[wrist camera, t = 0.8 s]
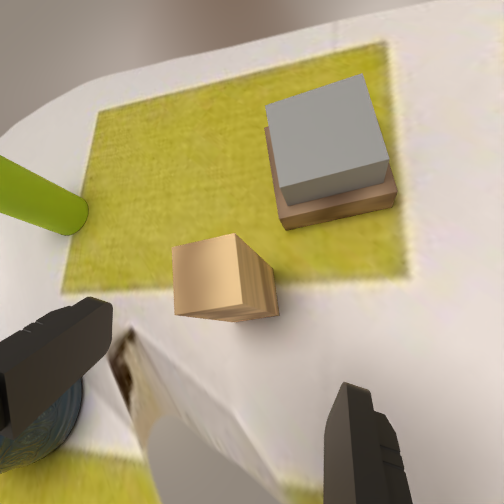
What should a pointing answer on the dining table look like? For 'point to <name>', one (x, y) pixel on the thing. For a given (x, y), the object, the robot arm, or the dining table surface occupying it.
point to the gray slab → (327, 141)
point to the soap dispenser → (39, 200)
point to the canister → (42, 432)
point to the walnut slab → (331, 200)
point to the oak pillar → (222, 281)
